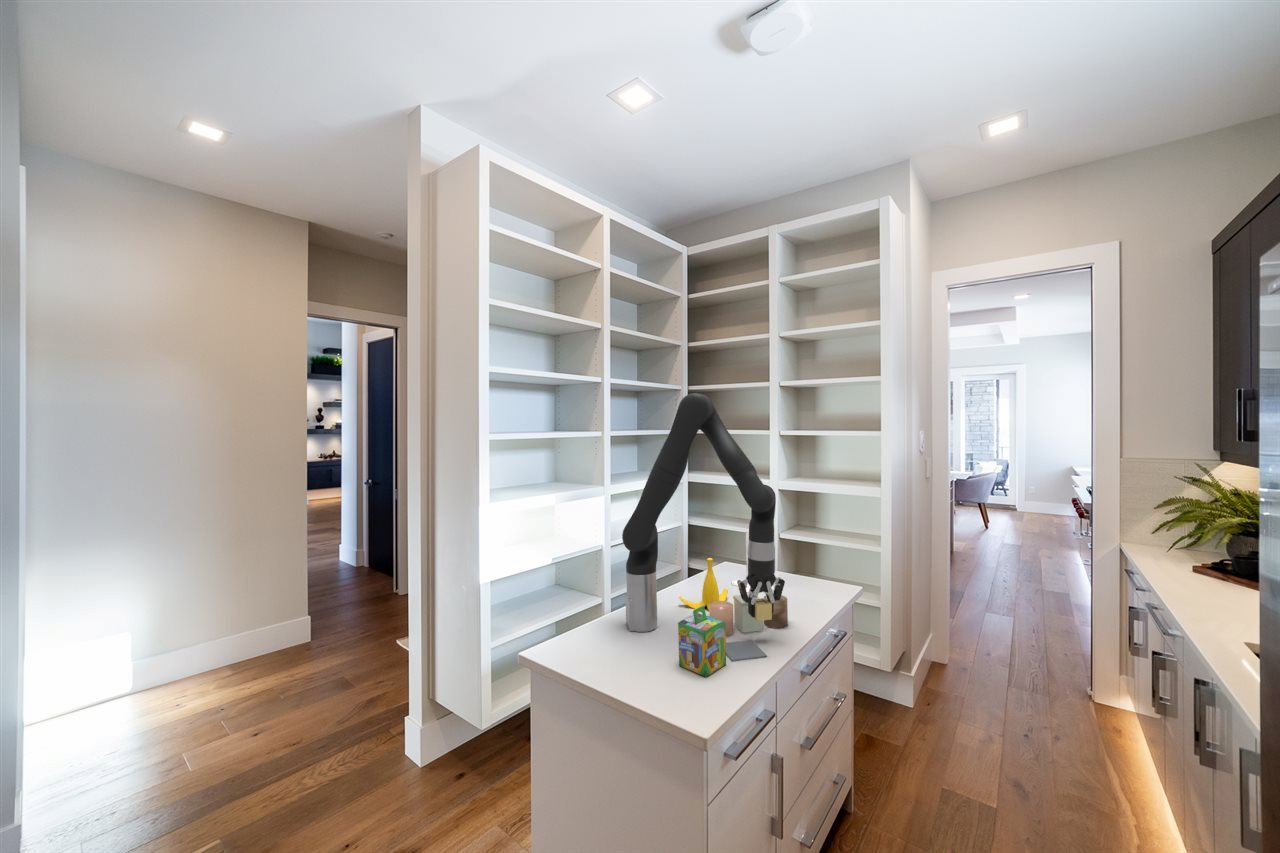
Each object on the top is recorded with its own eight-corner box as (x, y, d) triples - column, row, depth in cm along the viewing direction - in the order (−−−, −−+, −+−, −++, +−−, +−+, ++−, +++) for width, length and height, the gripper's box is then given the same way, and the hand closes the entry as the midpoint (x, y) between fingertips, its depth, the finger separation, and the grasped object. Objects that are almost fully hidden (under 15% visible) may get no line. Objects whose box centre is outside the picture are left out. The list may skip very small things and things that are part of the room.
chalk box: (706, 678, 127) (704, 618, 127) (677, 666, 133) (676, 609, 133) (727, 664, 134) (726, 608, 133) (699, 653, 140) (698, 599, 140)
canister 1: (714, 638, 149) (714, 610, 149) (706, 628, 156) (706, 602, 156) (737, 635, 151) (736, 608, 151) (728, 625, 158) (727, 599, 157)
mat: (731, 661, 135) (731, 660, 135) (718, 644, 145) (718, 643, 145) (767, 657, 137) (767, 655, 137) (751, 640, 147) (751, 639, 147)
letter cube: (756, 620, 144) (756, 604, 144) (750, 614, 148) (750, 599, 148) (771, 619, 145) (771, 603, 145) (764, 613, 149) (764, 597, 149)
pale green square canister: (742, 633, 152) (741, 603, 152) (733, 623, 159) (733, 595, 159) (763, 630, 154) (763, 601, 153) (754, 621, 160) (753, 593, 160)
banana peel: (677, 606, 175) (676, 557, 175) (726, 597, 182) (725, 550, 182) (700, 624, 160) (699, 570, 159) (752, 614, 167) (751, 562, 166)
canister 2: (770, 629, 154) (770, 603, 154) (760, 620, 161) (759, 595, 161) (792, 627, 155) (791, 601, 155) (781, 618, 162) (780, 593, 162)
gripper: (742, 561, 141) (742, 623, 141) (791, 558, 144) (790, 618, 144) (732, 553, 148) (732, 612, 149) (778, 551, 151) (777, 608, 152)
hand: (760, 615), depth 146 cm, fingers closed on letter cube, 4 cm apart
